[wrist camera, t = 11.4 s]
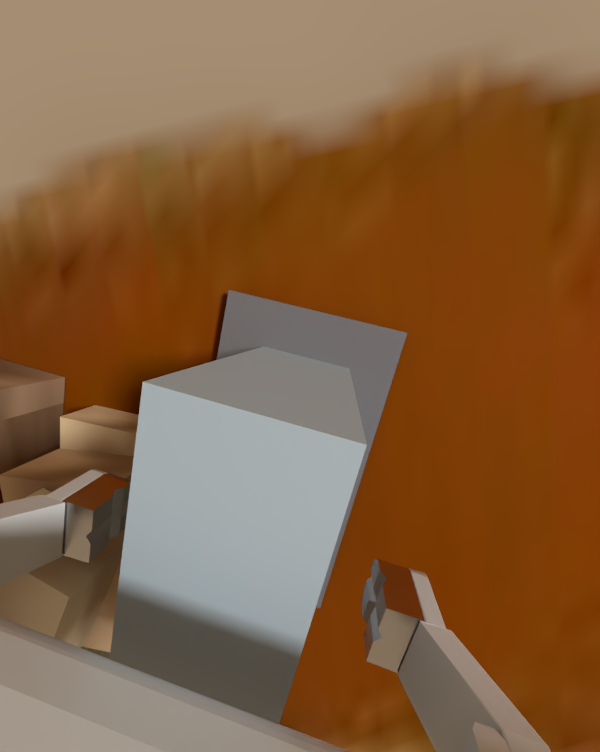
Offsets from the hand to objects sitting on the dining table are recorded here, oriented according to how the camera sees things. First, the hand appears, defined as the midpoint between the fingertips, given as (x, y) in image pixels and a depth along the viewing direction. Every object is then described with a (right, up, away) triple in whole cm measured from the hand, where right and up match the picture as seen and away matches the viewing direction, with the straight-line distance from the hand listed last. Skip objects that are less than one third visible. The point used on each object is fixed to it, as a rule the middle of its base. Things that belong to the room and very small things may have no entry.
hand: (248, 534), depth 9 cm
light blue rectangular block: (+1, +1, +5) cm, 5 cm away
